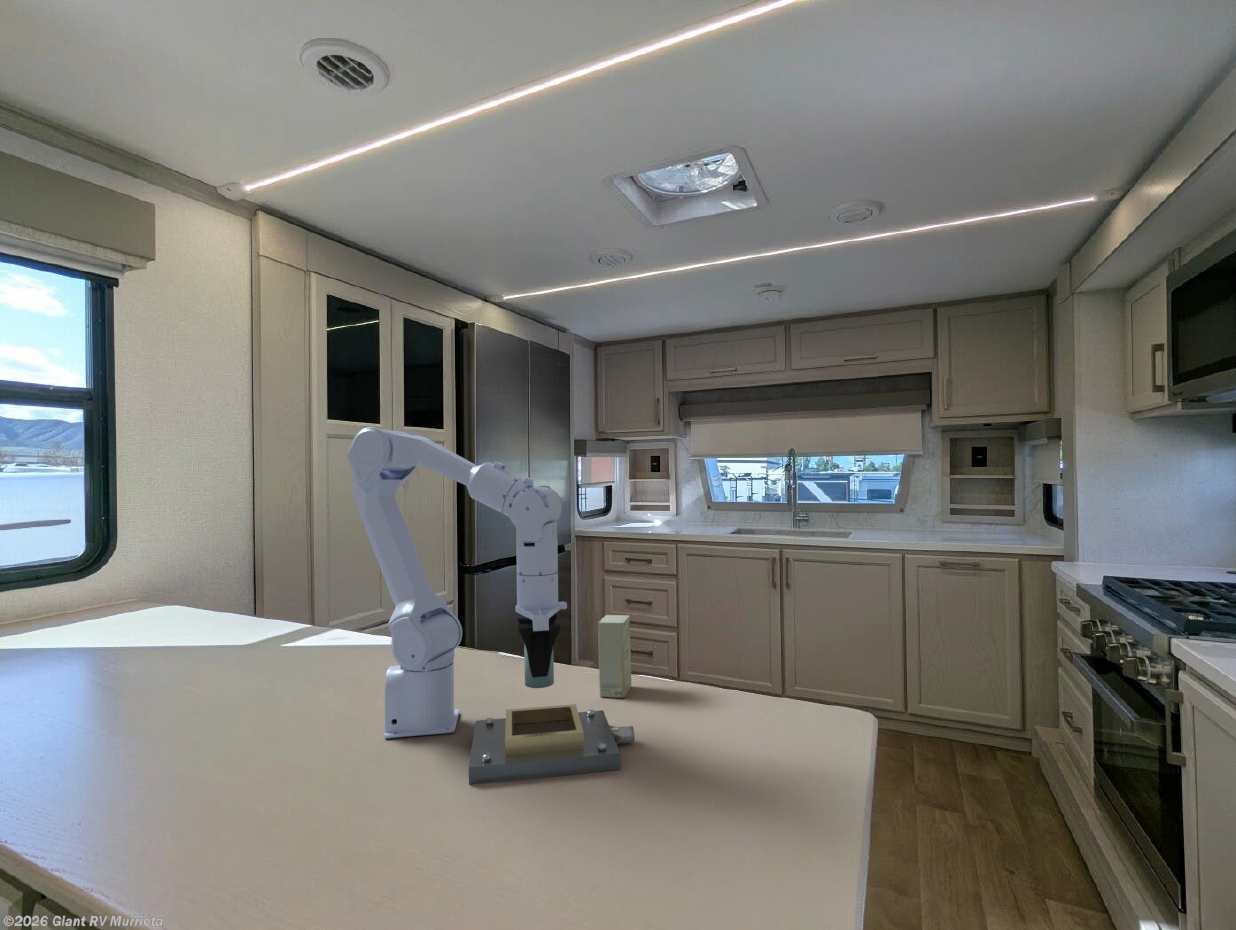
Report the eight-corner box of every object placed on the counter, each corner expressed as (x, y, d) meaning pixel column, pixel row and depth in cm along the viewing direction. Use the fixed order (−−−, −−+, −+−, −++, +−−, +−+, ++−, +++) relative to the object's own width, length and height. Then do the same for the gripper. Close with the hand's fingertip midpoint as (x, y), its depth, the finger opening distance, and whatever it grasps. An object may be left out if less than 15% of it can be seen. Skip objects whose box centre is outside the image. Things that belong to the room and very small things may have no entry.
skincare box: (625, 698, 98) (623, 623, 98) (598, 697, 99) (597, 622, 99) (631, 685, 104) (630, 614, 104) (606, 684, 105) (605, 613, 105)
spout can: (525, 689, 82) (524, 635, 82) (524, 679, 86) (523, 628, 86) (555, 686, 83) (554, 633, 83) (552, 677, 87) (551, 626, 87)
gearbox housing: (468, 784, 71) (468, 749, 71) (475, 735, 85) (475, 706, 85) (644, 767, 75) (643, 734, 75) (623, 722, 88) (623, 694, 88)
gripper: (571, 579, 78) (573, 685, 78) (561, 564, 92) (562, 654, 92) (516, 582, 77) (517, 690, 77) (514, 566, 91) (515, 657, 91)
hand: (538, 670), depth 84 cm, fingers closed on spout can, 4 cm apart
